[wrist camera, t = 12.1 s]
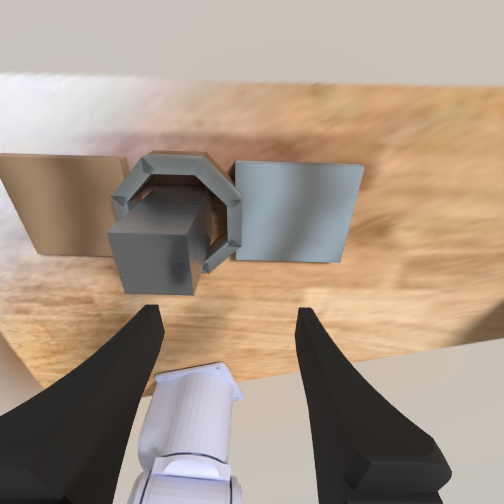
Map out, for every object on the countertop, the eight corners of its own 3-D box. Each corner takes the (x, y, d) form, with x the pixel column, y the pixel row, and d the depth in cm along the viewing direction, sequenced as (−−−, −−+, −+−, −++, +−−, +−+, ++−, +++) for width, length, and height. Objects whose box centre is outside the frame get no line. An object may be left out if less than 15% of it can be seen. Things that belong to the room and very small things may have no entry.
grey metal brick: (166, 231, 22) (125, 293, 15) (158, 184, 19) (106, 232, 13) (213, 232, 22) (194, 295, 15) (210, 186, 19) (186, 234, 13)
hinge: (48, 253, 23) (28, 268, 21) (-3, 145, 18) (-35, 151, 16) (335, 261, 23) (343, 277, 21) (361, 156, 18) (374, 164, 16)
